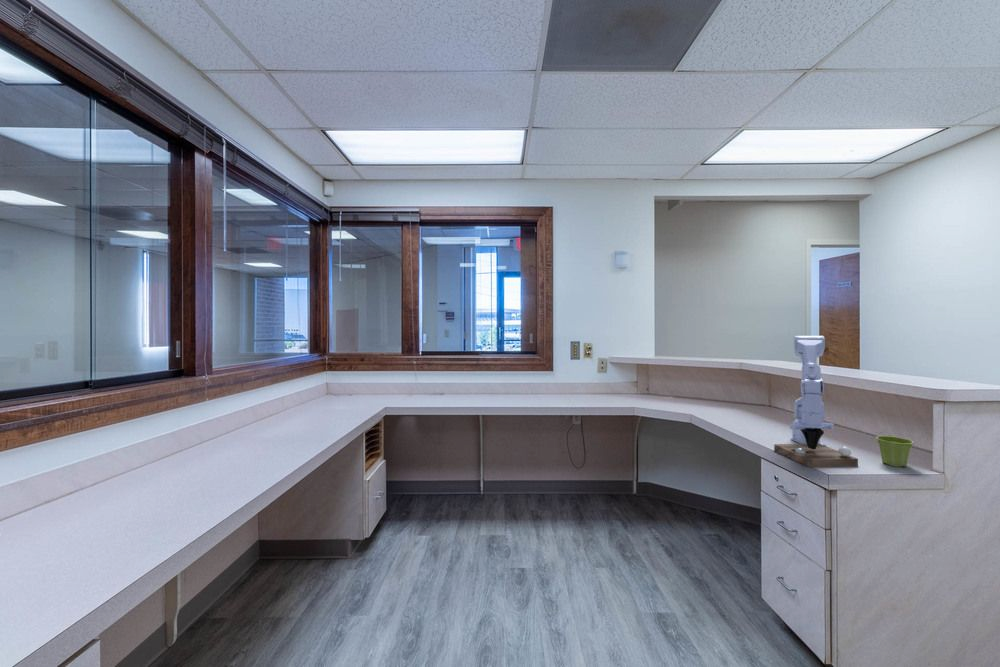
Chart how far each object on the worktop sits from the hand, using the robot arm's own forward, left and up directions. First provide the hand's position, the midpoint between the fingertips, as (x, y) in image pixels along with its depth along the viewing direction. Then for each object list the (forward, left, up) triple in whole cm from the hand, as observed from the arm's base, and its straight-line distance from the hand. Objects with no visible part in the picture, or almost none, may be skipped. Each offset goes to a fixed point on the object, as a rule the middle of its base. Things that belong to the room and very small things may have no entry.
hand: (811, 448), depth 151 cm
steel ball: (0, -4, -2) cm, 4 cm away
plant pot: (+8, +22, -4) cm, 24 cm away
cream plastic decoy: (+7, +6, +1) cm, 9 cm away
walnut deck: (0, 0, -3) cm, 3 cm away
